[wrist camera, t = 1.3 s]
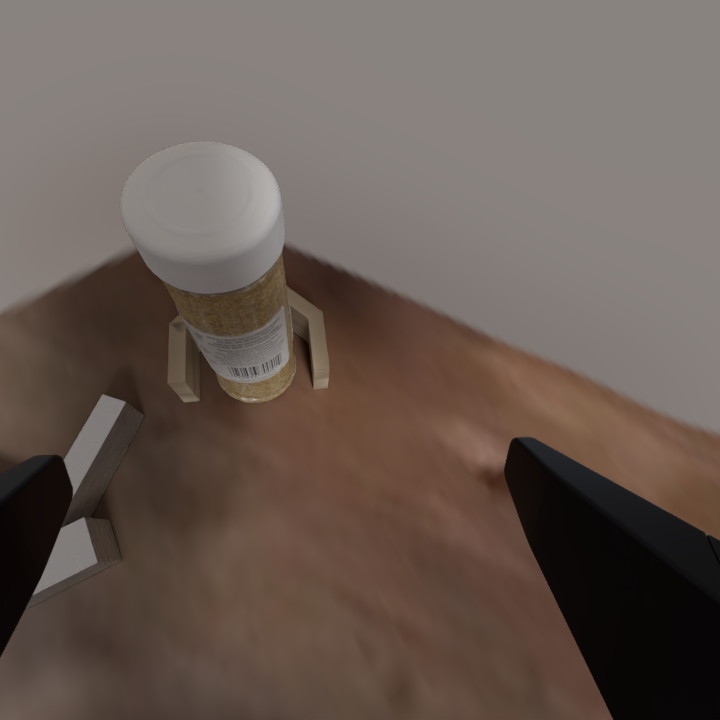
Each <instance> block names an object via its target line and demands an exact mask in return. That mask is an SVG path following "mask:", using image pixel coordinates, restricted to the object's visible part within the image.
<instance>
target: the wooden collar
mask: <svg viewBox="0 0 720 720" xmlns="http://www.w3.org/2000/svg"><path fill="white" fill-rule="evenodd" d="M286 288H287V296H288V302H289V305H290V310H291V319H292V329H293V332H295V333H296V334H297V335H299V336H300V337H301V338H303V339H304V340H305V341H307V342H308V343H309V352H310V361H311V370H312V380H313V389H323V388H328V379H329V370H330V367H329V359H328V351H327V343H326V335H325V327H324V319H323V312H322V311H320V310H319V309H318V308H316V307H315V306H314V305H312V304H311V303H309V302H308V301H307V300H305V299H304V298H302V297H301V296H300V295H298V294H297V293H296V292H294V291H293V290H291V289H290V288H289V287H287V286H286ZM200 351H201V350H200V348H199V346H198V345H197V343H196V341H195V339H194V338H193V336H192V334H191V332H190V331H189V329H188V327H187V326H186V324H185V322H184V320H183V319H182V317H181V315H180V314H179V315H178V316H177V317H176V318H175V319H174V320H173V321H171V322H170V323H169V349H168V385H169V386H170V387H171V388H172V389H173V390H174V391H175V393H176V394H177V395H178V396H179V397H180V398H181V399H182V400H183V401H184V403H185V402H195V401H200Z"/></svg>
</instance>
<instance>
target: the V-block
mask: <svg viewBox="0 0 720 720" xmlns="http://www.w3.org/2000/svg"><path fill="white" fill-rule="evenodd" d="M144 417H145V416H144V415H143V414H141V413H140V412H139V411H137V410H136V409H135V408H133V407H132V406H131V405H129V404H128V403H127V402H125V401H122V400H118V399H115V398H112V397H109V396H106V395H103V394H102V396H101V398H100V399H99V401H98V403H97V405H96V406H95V408H94V410H93V411H92V413H91V415H90V416H89V418H88V420H87V422H86V423H85V425H84V427H83V428H82V430H81V432H80V433H79V435H78V437H77V439H76V440H75V442H74V444H73V445H72V447H71V449H70V450H69V452H68V454H67V456H66V457H65V459H64V462H65V465H66V468H67V471H68V474H69V477H70V480H71V483H72V487H73V498H72V502H71V504H70V507H69V510H68V512H67V515H66V517H65V520H64V522H63V525H62V527H61V530H60V532H59V535H58V538H57V540H56V543H55V545H54V548H53V550H52V553H51V555H50V558H49V560H48V563H47V565H46V568H45V570H44V572H43V575H42V577H41V579H40V581H39V583H38V585H37V587H36V589H35V591H34V593H33V595H32V597H31V599H30V601H29V603H28V605H27V607H26V608H30V607H32V606H34V605H36V604H37V603H39V602H41V601H43V600H45V599H47V598H49V597H51V596H53V595H55V594H57V593H59V592H61V591H63V590H65V589H67V588H69V587H71V586H73V585H75V584H77V583H79V582H81V581H82V580H84V579H86V578H88V577H90V576H92V575H94V574H96V573H98V572H100V571H102V570H104V569H106V568H108V567H110V566H112V565H114V564H116V563H118V562H120V561H122V559H121V556H120V552H119V549H118V546H117V543H116V540H115V536H114V533H113V530H112V527H111V524H110V520H104V519H96V518H91V516H92V514H93V513H94V511H95V509H96V507H97V505H98V503H99V501H100V499H101V497H102V496H103V494H104V492H105V490H106V488H107V486H108V484H109V482H110V481H111V479H112V477H113V475H114V473H115V471H116V469H117V467H118V466H119V464H120V462H121V460H122V458H123V456H124V454H125V452H126V450H127V449H128V447H129V445H130V443H131V441H132V439H133V437H134V435H135V434H136V432H137V430H138V428H139V426H140V424H141V422H142V420H143V419H144Z"/></svg>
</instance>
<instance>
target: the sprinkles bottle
mask: <svg viewBox="0 0 720 720" xmlns="http://www.w3.org/2000/svg"><path fill="white" fill-rule="evenodd" d="M120 211H121V216H122V220H123V223H124V226H125V228H126V230H127V232H128V234H129V236H130V237H131V239H132V241H133V243H134V245H135V246H136V248H137V250H138V251H139V253H140V255H141V257H142V258H143V260H144V262H145V263H146V265H147V266H148V268H149V269H150V270H151V271H152V272H153V273H154V274H155V275H156V276H158V277H159V278H160V279H161V280H162V281H163V283H164V285H165V286H166V288H167V290H168V291H169V293H170V295H171V297H172V299H173V300H174V302H175V305H176V307H177V310H178V312H179V313H180V315H181V317H182V319H183V320H184V322H185V324H186V326H187V327H188V329H189V331H190V332H191V334H192V336H193V338H194V339H195V341H196V343H197V345H198V346H199V348H200V350H201V352H202V353H203V355H204V357H205V358H206V360H207V362H208V363H209V365H210V366H211V367H212V369H213V370H214V371H215V373H216V377H217V380H218V382H219V384H220V386H221V388H222V389H223V390H224V391H225V392H226V393H227V394H229V395H230V396H231V397H233V398H235V399H237V400H240V401H242V402H247V403H260V402H263V401H269V400H271V399H273V398H275V397H277V396H279V395H280V394H282V393H283V392H284V391H285V390H286V389H287V388H288V386H289V385H290V384H291V382H292V380H293V378H294V375H295V373H296V356H295V354H294V351H293V343H292V341H293V329H292V319H291V310H290V305H289V302H288V296H287V288H286V279H285V271H284V265H283V258H282V251H283V246H284V240H285V223H284V215H283V207H282V200H281V195H280V190H279V187H278V184H277V182H276V180H275V178H274V176H273V174H272V173H271V171H270V170H269V169H268V168H267V167H266V166H265V165H264V164H263V163H262V162H261V161H260V160H259V159H258V158H256V157H255V156H253V155H252V154H250V153H248V152H246V151H244V150H242V149H240V148H237V147H235V146H231V145H228V144H223V143H218V142H207V141H201V142H200V141H199V142H188V143H182V144H178V145H174V146H171V147H168V148H165V149H163V150H161V151H159V152H157V153H155V154H153V155H151V156H150V157H148V158H147V159H145V160H144V161H143V162H142V163H141V164H139V165H138V166H137V168H135V170H134V171H133V172H132V173H131V175H130V176H129V178H128V179H127V181H126V183H125V185H124V188H123V190H122V194H121V201H120Z"/></svg>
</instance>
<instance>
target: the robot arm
mask: <svg viewBox="0 0 720 720" xmlns="http://www.w3.org/2000/svg"><path fill="white" fill-rule="evenodd" d="M504 475H505V479H506V482H507V485H508V488H509V491H510V494H511V496H512V499H513V502H514V505H515V508H516V510H517V513H518V516H519V519H520V522H521V524H522V527H523V530H524V533H525V535H526V538H527V540H528V543H529V545H530V547H531V550H532V552H533V554H534V556H535V558H536V560H537V562H538V564H539V566H540V569H541V571H542V573H543V575H544V577H545V579H546V581H547V583H548V585H549V587H550V589H551V591H552V593H553V596H554V598H555V600H556V602H557V604H558V606H559V608H560V610H561V612H562V614H563V616H564V618H565V620H566V622H567V625H568V627H569V629H570V631H571V633H572V635H573V637H574V639H575V641H576V643H577V645H578V647H579V649H580V652H581V654H582V656H583V658H584V660H585V662H586V664H587V666H588V668H589V670H590V672H591V674H592V676H593V678H594V681H595V683H596V685H597V687H598V689H599V691H600V693H601V695H602V697H603V699H604V701H605V703H606V705H607V708H608V710H609V712H610V714H611V716H612V718H613V720H720V540H718V539H716V538H714V537H712V536H711V535H707V536H706V534H705V532H703V531H701V530H700V529H698V528H696V527H694V526H692V525H690V524H689V523H687V522H685V521H683V520H681V519H680V518H678V517H676V516H674V515H672V514H671V513H669V512H667V511H665V510H663V509H661V508H660V507H658V506H656V505H654V504H652V503H651V502H649V501H647V500H645V499H643V498H642V497H640V496H638V495H636V494H634V493H632V492H631V491H629V490H627V489H625V488H623V487H622V486H620V485H618V484H616V483H614V482H613V481H611V480H609V479H607V478H605V477H603V476H602V475H600V474H598V473H596V472H594V471H593V470H591V469H589V468H587V467H585V466H583V465H582V464H580V463H578V462H576V461H574V460H573V459H571V458H569V457H567V456H565V455H564V454H562V453H560V452H558V451H556V450H555V449H553V448H551V447H549V446H547V445H545V444H544V443H542V442H540V441H538V440H536V439H535V438H532V437H518V438H514V439H512V441H511V443H510V446H509V450H508V454H507V459H506V463H505V468H504ZM72 498H73V487H72V483H71V480H70V477H69V474H68V471H67V468H66V465H65V462H64V460H63V458H62V457H61V456H58V455H39V456H34V457H32V458H30V459H28V460H26V461H24V462H22V463H20V464H19V465H17V466H15V467H13V468H11V469H9V470H7V471H5V472H4V473H2V474H0V657H1V655H2V653H3V651H4V649H5V647H6V645H7V643H8V642H9V640H10V638H11V636H12V634H13V632H14V630H15V628H16V626H17V624H18V622H19V620H20V618H21V616H22V615H23V613H24V611H25V609H26V607H27V605H28V603H29V601H30V599H31V597H32V595H33V593H34V591H35V589H36V587H37V585H38V583H39V581H40V579H41V577H42V575H43V572H44V570H45V568H46V565H47V563H48V560H49V558H50V555H51V553H52V550H53V548H54V545H55V543H56V540H57V538H58V535H59V532H60V530H61V527H62V525H63V522H64V520H65V517H66V515H67V512H68V510H69V507H70V504H71V502H72Z"/></svg>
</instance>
